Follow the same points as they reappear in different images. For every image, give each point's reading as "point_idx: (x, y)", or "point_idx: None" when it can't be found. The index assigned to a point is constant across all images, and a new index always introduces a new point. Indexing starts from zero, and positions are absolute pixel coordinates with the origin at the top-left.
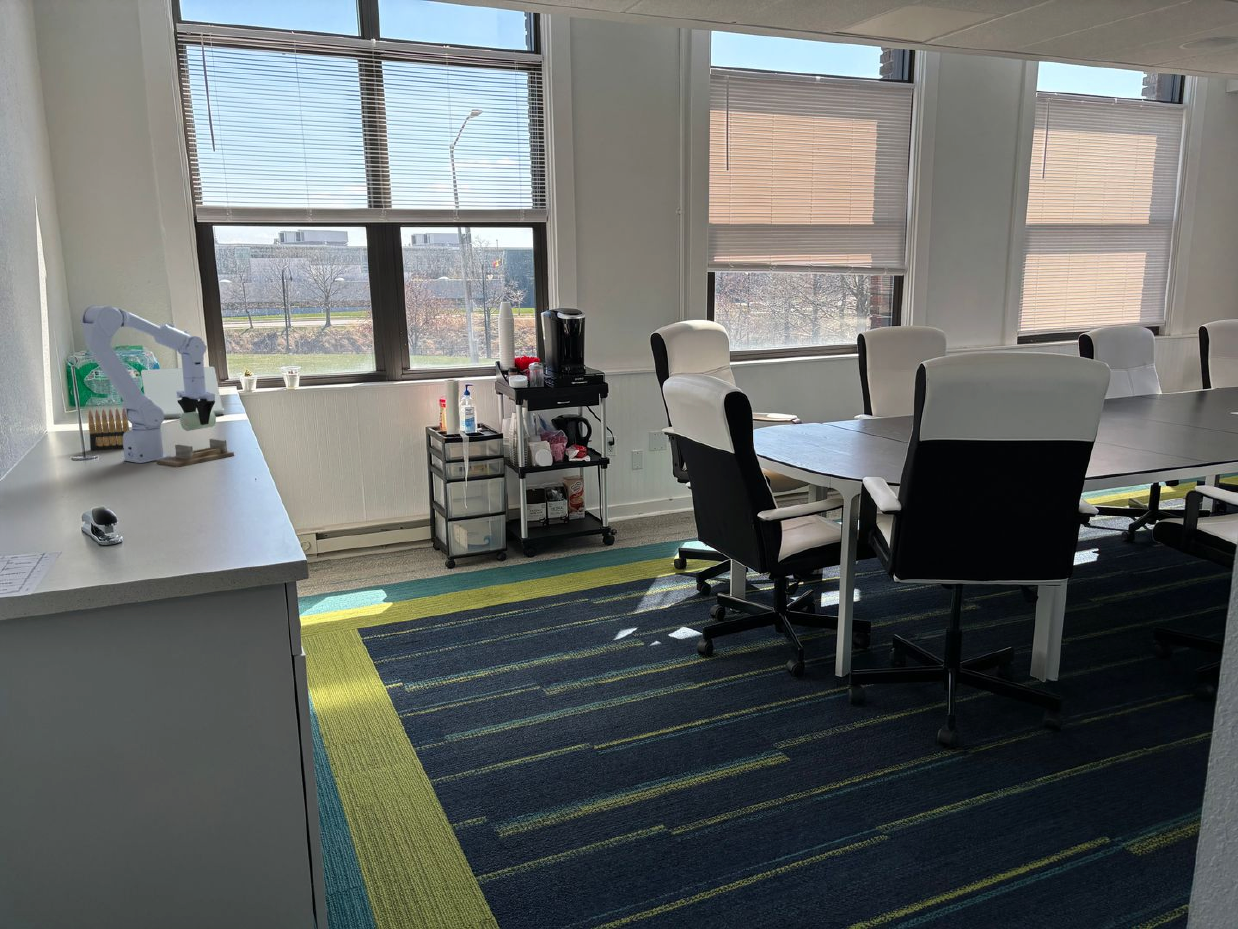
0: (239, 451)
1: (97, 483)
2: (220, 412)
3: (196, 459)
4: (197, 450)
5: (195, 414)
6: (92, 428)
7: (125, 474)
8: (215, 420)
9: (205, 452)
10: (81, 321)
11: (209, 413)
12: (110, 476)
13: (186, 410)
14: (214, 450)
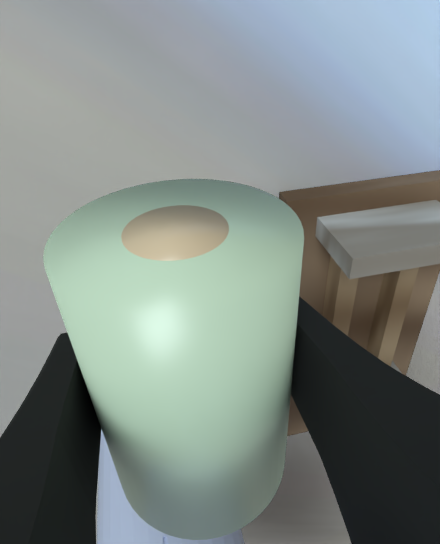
0: (400, 56)
1: (348, 534)
2: None
3: (410, 355)
4: (345, 330)
5: (272, 461)
6: None
7: (324, 496)
8: (285, 209)
9: (401, 316)
10: None
11: (374, 367)
12: (309, 517)
13: (92, 532)
14: (415, 273)
